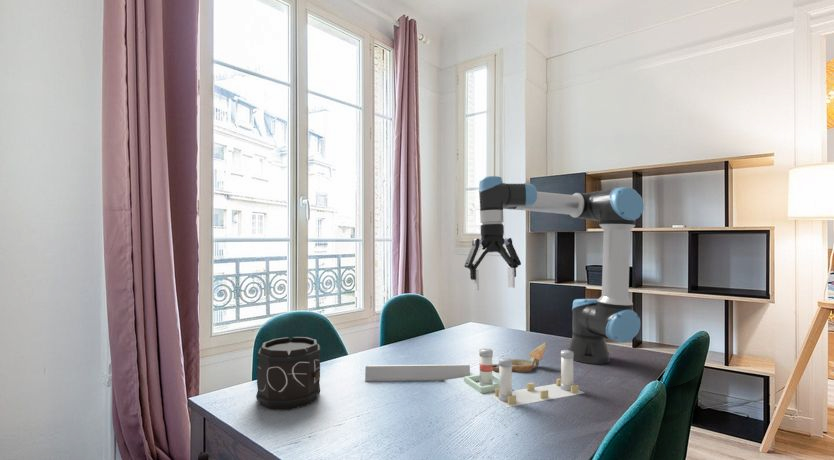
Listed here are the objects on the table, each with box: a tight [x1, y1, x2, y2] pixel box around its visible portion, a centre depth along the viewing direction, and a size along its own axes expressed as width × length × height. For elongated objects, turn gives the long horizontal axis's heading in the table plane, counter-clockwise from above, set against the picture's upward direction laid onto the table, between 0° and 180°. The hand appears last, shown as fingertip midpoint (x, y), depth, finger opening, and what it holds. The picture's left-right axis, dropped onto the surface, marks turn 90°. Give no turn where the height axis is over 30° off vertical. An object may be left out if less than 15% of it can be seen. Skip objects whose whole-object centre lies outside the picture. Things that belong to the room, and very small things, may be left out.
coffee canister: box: [255, 336, 322, 411], centre depth 115 cm, size 18×18×16 cm
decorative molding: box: [364, 363, 471, 382], centre depth 136 cm, size 34×5×10 cm
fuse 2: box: [560, 349, 575, 391], centre depth 121 cm, size 4×4×11 cm
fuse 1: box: [498, 357, 513, 402], centre depth 112 cm, size 4×4×11 cm
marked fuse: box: [478, 347, 494, 386], centre depth 123 cm, size 4×4×11 cm
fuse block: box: [489, 377, 585, 408], centre depth 116 cm, size 27×9×4 cm, turn 113°
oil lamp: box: [492, 341, 547, 373], centre depth 139 cm, size 9×21×10 cm, turn 105°
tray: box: [463, 373, 499, 394], centre depth 123 cm, size 10×10×3 cm
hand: (494, 288), depth 132 cm, fingers open, 13 cm apart
